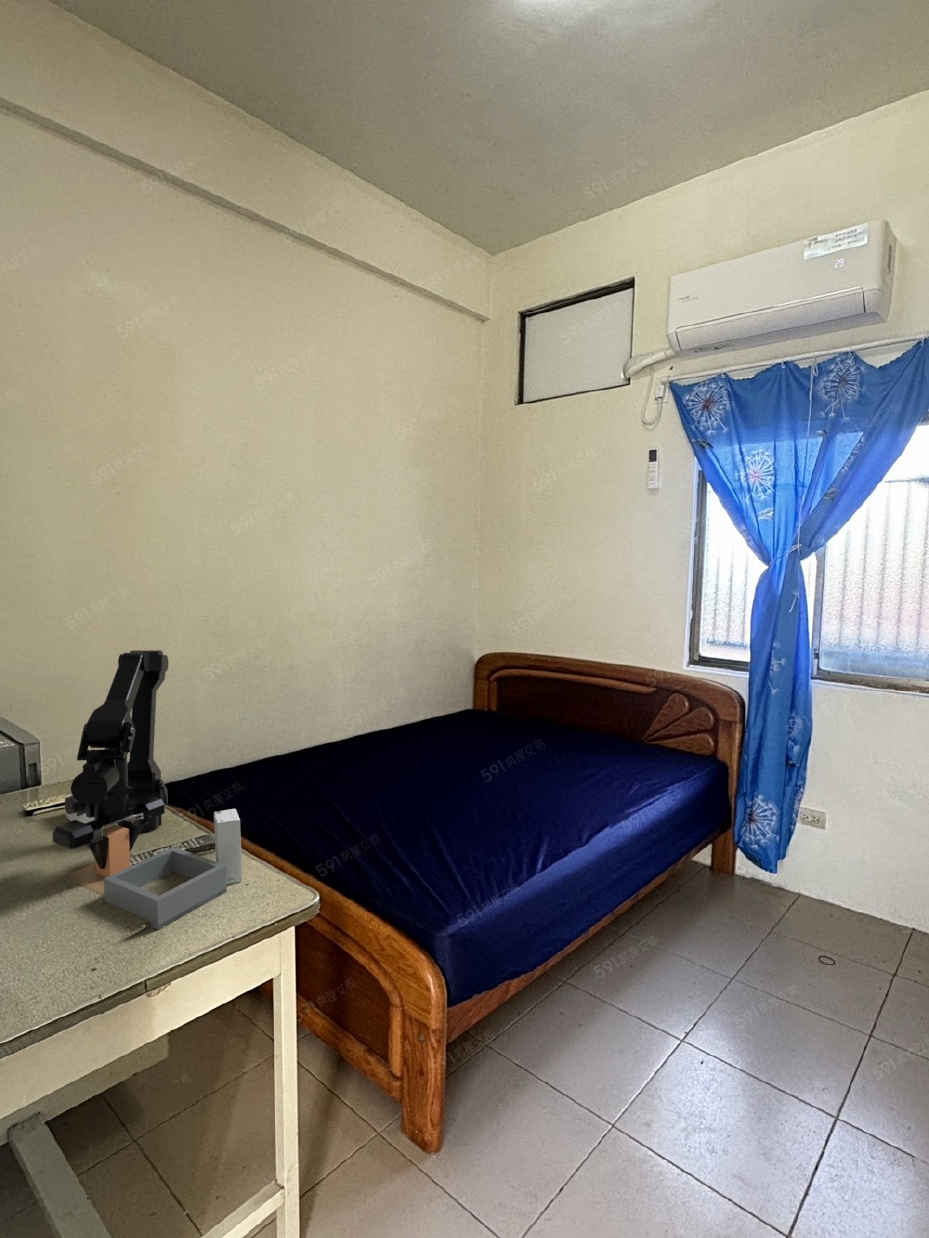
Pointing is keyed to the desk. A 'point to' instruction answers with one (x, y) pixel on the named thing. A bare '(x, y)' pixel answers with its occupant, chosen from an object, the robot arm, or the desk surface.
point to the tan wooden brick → (116, 850)
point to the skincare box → (228, 843)
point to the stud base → (89, 878)
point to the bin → (174, 902)
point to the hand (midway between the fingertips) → (113, 863)
